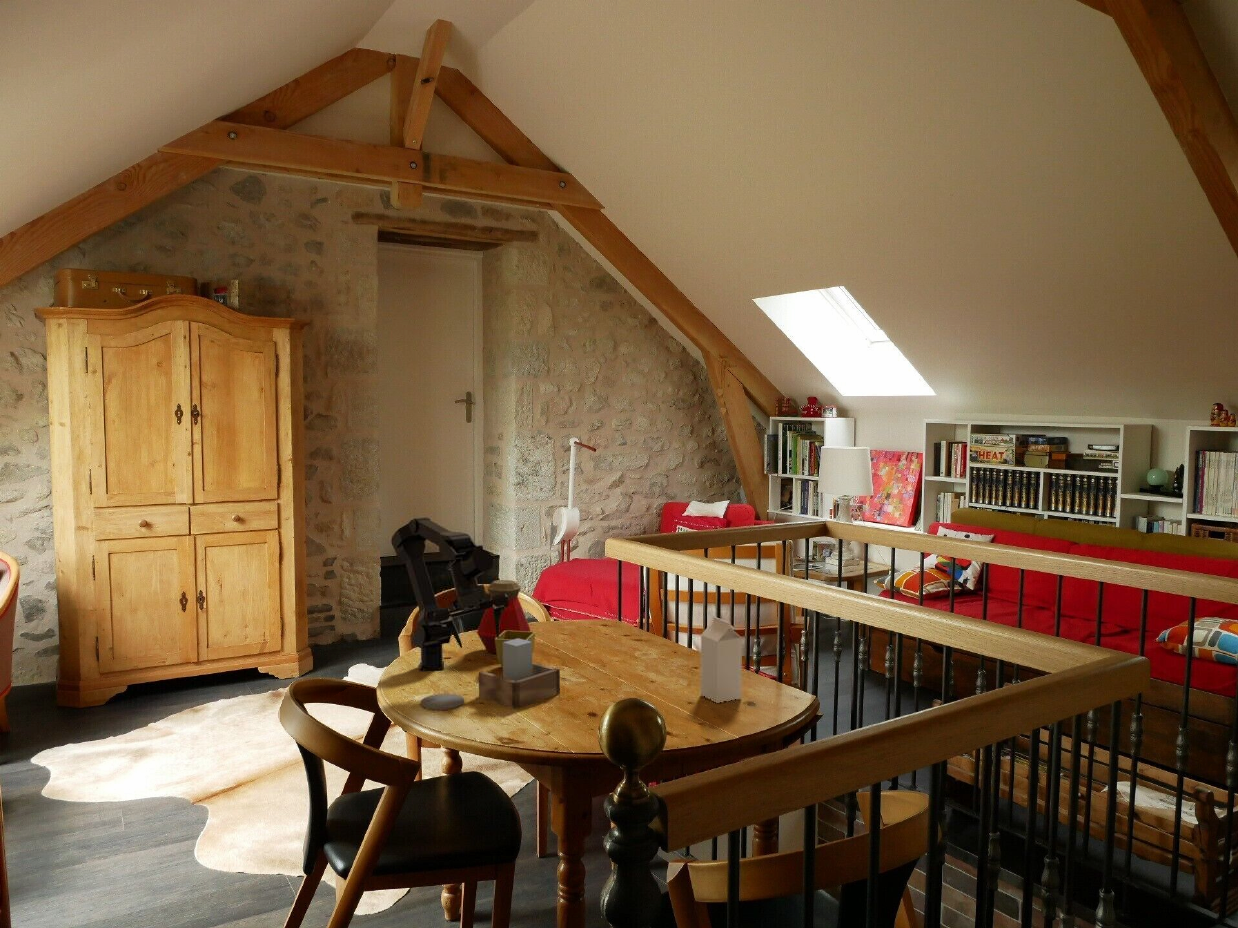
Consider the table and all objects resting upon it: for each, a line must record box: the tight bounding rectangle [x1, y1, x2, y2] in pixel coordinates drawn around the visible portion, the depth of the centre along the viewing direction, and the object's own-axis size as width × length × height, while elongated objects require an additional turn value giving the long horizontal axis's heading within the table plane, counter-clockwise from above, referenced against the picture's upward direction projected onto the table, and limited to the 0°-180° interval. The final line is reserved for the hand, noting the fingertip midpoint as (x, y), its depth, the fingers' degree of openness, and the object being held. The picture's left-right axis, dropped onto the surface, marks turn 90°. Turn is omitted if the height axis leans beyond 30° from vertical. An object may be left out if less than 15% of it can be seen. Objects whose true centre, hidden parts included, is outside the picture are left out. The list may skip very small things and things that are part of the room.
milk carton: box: [700, 616, 743, 704], centre depth 217 cm, size 7×7×19 cm
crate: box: [478, 661, 561, 710], centre depth 219 cm, size 13×14×6 cm
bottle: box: [476, 579, 531, 656], centre depth 257 cm, size 16×14×20 cm
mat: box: [420, 693, 465, 711], centre depth 213 cm, size 10×10×1 cm
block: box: [502, 638, 533, 681], centre depth 219 cm, size 5×5×13 cm
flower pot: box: [495, 631, 536, 669], centre depth 241 cm, size 9×9×9 cm
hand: (479, 642), depth 224 cm, fingers open, 9 cm apart
